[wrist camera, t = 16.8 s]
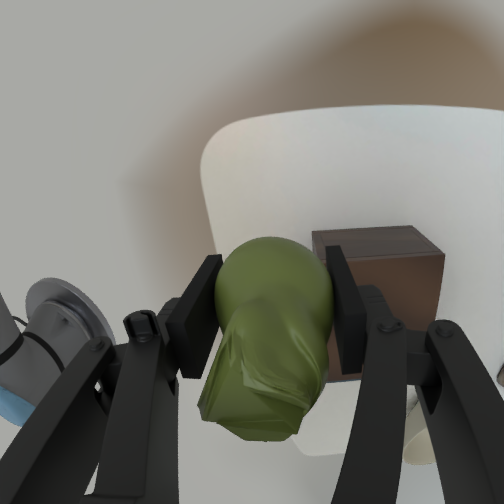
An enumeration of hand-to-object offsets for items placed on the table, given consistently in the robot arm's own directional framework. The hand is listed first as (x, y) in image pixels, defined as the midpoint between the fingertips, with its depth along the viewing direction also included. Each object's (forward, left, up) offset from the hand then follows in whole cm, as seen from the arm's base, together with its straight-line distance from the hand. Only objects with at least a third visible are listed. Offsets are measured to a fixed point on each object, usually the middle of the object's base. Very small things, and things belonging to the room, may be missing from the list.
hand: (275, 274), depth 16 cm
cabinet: (+9, -12, -21) cm, 25 cm away
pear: (0, 0, -1) cm, 1 cm away
